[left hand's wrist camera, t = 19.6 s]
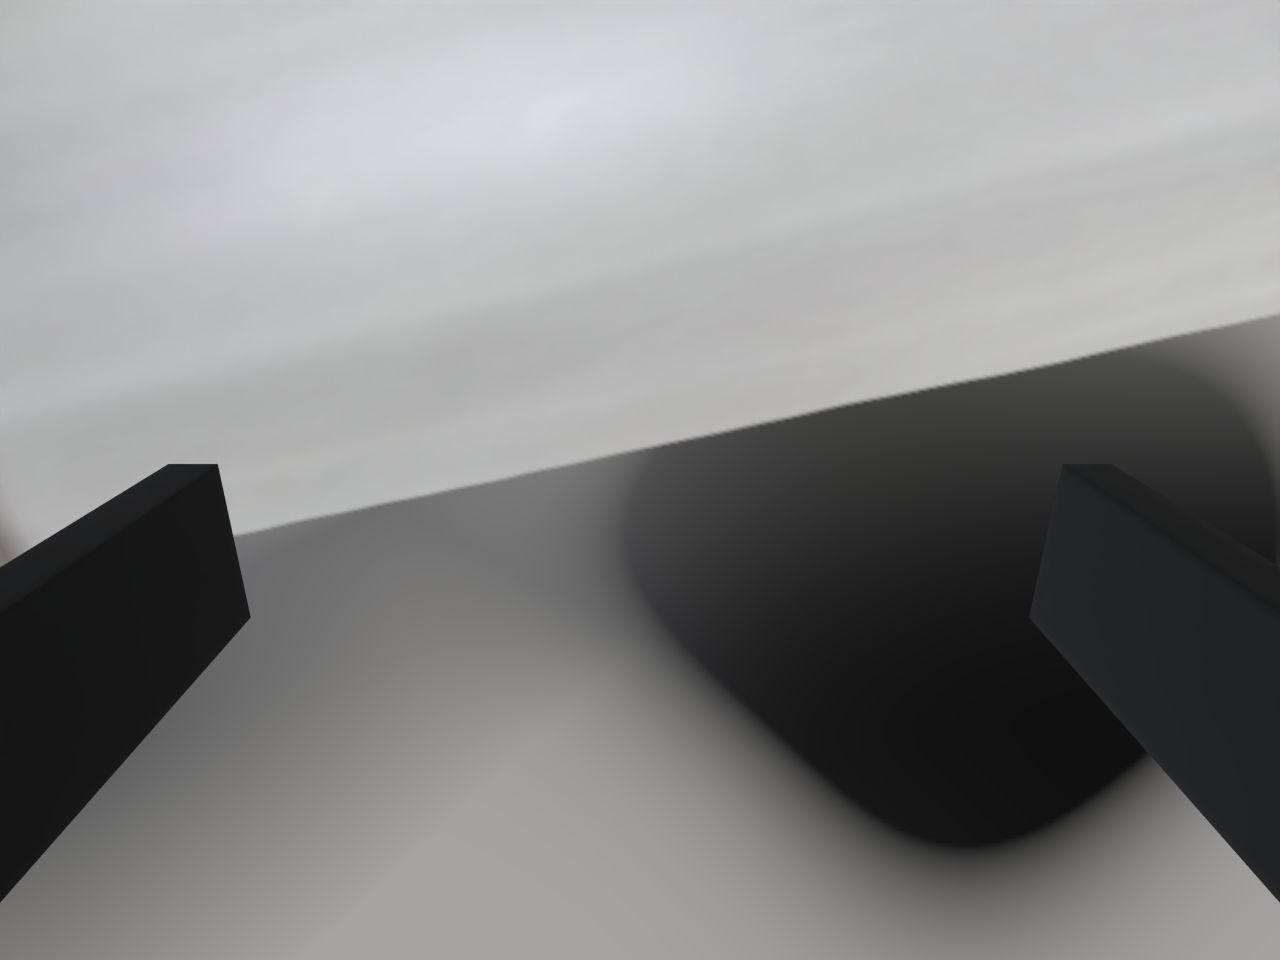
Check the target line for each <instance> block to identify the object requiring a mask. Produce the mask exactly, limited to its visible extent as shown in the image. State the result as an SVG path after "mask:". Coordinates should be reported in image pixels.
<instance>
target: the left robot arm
mask: <svg viewBox="0 0 1280 960" xmlns="http://www.w3.org/2000/svg"><path fill="white" fill-rule="evenodd" d="M249 619H250V612H249V608H248V603H247V598H246V594H245V589H244V584H243V580H242V575H241V571H240V566H239V561H238V556H237V552H236V547H235V543H234V538H233V533H232V529H231V524H230V519H229V515H228V510H227V505H226V501H225V496H224V491H223V487H222V482H221V477H220V473H219V468H218V464H168V465H166V466H165V467H163V468H161V469H160V470H158V471H156V472H155V473H153V474H152V475H150V476H148V477H147V478H145V479H143V480H142V481H140V482H139V483H137V484H135V485H134V486H132V487H130V488H129V489H127V490H125V491H124V492H122V493H121V494H119V495H117V496H116V497H114V498H112V499H111V500H109V501H108V502H106V503H104V504H103V505H101V506H99V507H98V508H96V509H95V510H93V511H91V512H90V513H88V514H86V515H85V516H83V517H82V518H80V519H78V520H77V521H75V522H73V523H72V524H70V525H69V526H67V527H65V528H64V529H62V530H60V531H59V532H57V533H56V534H54V535H52V536H51V537H49V538H47V539H46V540H44V541H42V542H41V543H39V544H38V545H36V546H34V547H33V548H31V549H29V550H28V551H26V552H25V553H23V554H21V555H20V556H18V557H16V558H15V559H13V560H12V561H10V562H8V563H7V564H5V565H3V566H2V567H0V902H1V901H2V900H3V899H4V898H5V896H6V895H7V894H8V893H9V892H10V891H11V890H12V888H13V887H14V886H15V885H16V884H17V883H18V882H19V881H20V879H21V878H22V877H23V876H24V875H25V874H26V873H27V871H28V870H29V869H30V868H31V867H32V866H33V865H34V863H35V862H36V861H37V860H38V859H39V858H40V857H41V855H42V854H43V853H44V852H45V851H46V850H47V849H48V847H49V846H50V845H51V844H52V843H53V842H54V841H55V839H56V838H57V837H58V836H59V835H60V834H61V833H62V832H63V830H64V829H65V828H66V827H67V826H68V825H69V824H70V822H71V821H72V820H73V819H74V818H75V817H76V816H77V815H78V813H79V812H80V811H81V810H82V809H83V808H84V807H85V805H86V804H87V803H88V802H89V801H90V800H91V799H92V797H93V796H94V795H95V794H96V793H97V792H98V791H99V789H100V788H101V787H102V786H103V785H104V784H105V783H106V781H107V780H108V779H109V778H110V777H111V776H112V775H113V774H114V772H115V771H116V770H117V769H118V768H119V767H120V766H121V764H122V763H123V762H124V761H125V760H126V759H127V758H128V756H129V755H130V754H131V753H132V752H133V751H134V750H135V748H136V747H137V746H138V745H139V744H140V743H141V742H142V741H143V739H144V738H145V737H146V736H147V735H148V734H149V733H150V731H151V730H152V729H153V728H154V727H155V726H156V724H157V723H158V722H159V721H160V720H161V719H162V718H163V717H164V715H165V714H166V713H167V712H168V711H169V710H170V709H171V707H172V706H173V705H174V704H175V703H176V702H177V701H178V700H179V698H180V697H181V696H182V695H183V694H184V693H185V692H186V690H187V689H188V688H189V687H190V686H191V685H192V684H193V682H194V681H195V680H196V679H197V678H198V677H199V676H200V675H201V673H202V672H203V671H204V670H205V669H206V668H207V667H208V665H209V664H210V663H211V662H212V661H213V660H214V659H215V657H216V656H217V655H218V654H219V653H220V652H221V651H222V649H223V648H224V647H225V646H226V645H227V644H228V643H229V641H230V640H231V639H232V638H233V637H234V636H235V635H236V634H237V632H238V631H239V630H240V629H241V628H242V627H243V626H244V624H245V623H246V622H247V621H248V620H249ZM1030 619H1031V620H1032V621H1033V622H1034V623H1035V624H1036V626H1037V627H1038V628H1039V629H1040V630H1041V631H1042V632H1043V634H1044V635H1045V636H1046V637H1047V638H1048V639H1049V640H1050V642H1051V643H1052V644H1053V645H1054V646H1055V647H1056V648H1057V649H1058V651H1059V652H1060V653H1061V654H1062V655H1063V656H1064V657H1065V659H1066V660H1067V661H1068V662H1069V663H1070V664H1071V665H1072V667H1073V668H1074V669H1075V670H1076V671H1077V672H1078V673H1079V674H1080V676H1081V677H1082V678H1083V679H1084V680H1085V681H1086V682H1087V684H1088V685H1089V686H1090V687H1091V688H1092V689H1093V690H1094V692H1095V693H1096V694H1097V695H1098V696H1099V697H1100V698H1101V699H1102V701H1103V702H1104V703H1105V704H1106V705H1107V706H1108V708H1109V709H1110V710H1111V711H1112V712H1113V713H1114V714H1115V715H1116V717H1117V718H1118V719H1119V720H1120V721H1121V722H1122V723H1123V725H1124V726H1125V727H1126V728H1127V729H1128V730H1129V731H1130V733H1131V734H1132V735H1133V736H1134V737H1135V738H1136V739H1137V740H1138V742H1139V743H1140V744H1141V745H1142V746H1143V747H1144V748H1145V750H1146V751H1147V752H1148V753H1149V754H1150V755H1151V756H1152V758H1153V759H1154V760H1155V761H1156V762H1157V763H1158V764H1159V766H1160V767H1161V768H1162V769H1163V770H1164V771H1165V772H1166V773H1167V775H1168V776H1169V777H1170V778H1171V779H1172V780H1173V781H1174V783H1175V784H1176V785H1177V786H1178V787H1179V788H1180V789H1181V791H1182V792H1183V793H1184V794H1185V795H1186V796H1187V797H1188V799H1189V800H1190V801H1191V802H1192V803H1193V804H1194V805H1195V807H1196V808H1197V809H1198V810H1199V811H1200V812H1201V813H1202V814H1203V816H1204V817H1205V818H1206V819H1207V820H1208V821H1209V822H1210V824H1211V825H1212V826H1213V827H1214V828H1215V829H1216V830H1217V832H1218V833H1219V834H1220V835H1221V836H1222V837H1223V838H1224V839H1225V841H1226V842H1227V843H1228V844H1229V845H1230V846H1231V848H1232V849H1233V850H1234V851H1235V852H1236V853H1237V854H1238V855H1239V857H1240V858H1241V859H1242V860H1243V861H1244V862H1245V863H1246V865H1247V866H1248V867H1249V868H1250V869H1251V870H1252V871H1253V873H1254V874H1255V875H1256V876H1257V877H1258V878H1259V879H1260V880H1261V882H1262V883H1263V884H1264V885H1265V886H1266V887H1267V888H1268V890H1269V891H1270V892H1271V893H1272V894H1273V895H1274V896H1275V898H1276V899H1277V900H1278V901H1279V902H1280V567H1278V566H1277V565H1275V564H1273V563H1272V562H1270V561H1268V560H1267V559H1265V558H1264V557H1262V556H1260V555H1259V554H1257V553H1255V552H1254V551H1252V550H1251V549H1249V548H1247V547H1246V546H1244V545H1242V544H1241V543H1239V542H1237V541H1236V540H1234V539H1233V538H1231V537H1229V536H1228V535H1226V534H1224V533H1223V532H1221V531H1220V530H1218V529H1216V528H1215V527H1213V526H1211V525H1210V524H1208V523H1207V522H1205V521H1203V520H1202V519H1200V518H1198V517H1197V516H1195V515H1194V514H1192V513H1190V512H1189V511H1187V510H1185V509H1184V508H1182V507H1180V506H1179V505H1177V504H1176V503H1174V502H1172V501H1171V500H1169V499H1168V498H1166V497H1164V496H1163V495H1161V494H1159V493H1158V492H1156V491H1154V490H1153V489H1151V488H1150V487H1148V486H1146V485H1145V484H1143V483H1141V482H1140V481H1138V480H1137V479H1135V478H1133V477H1132V476H1130V475H1128V474H1127V473H1125V472H1124V471H1122V470H1120V469H1119V468H1117V467H1115V466H1114V465H1112V464H1062V468H1061V473H1060V477H1059V482H1058V487H1057V491H1056V496H1055V501H1054V505H1053V510H1052V515H1051V519H1050V524H1049V529H1048V533H1047V538H1046V543H1045V547H1044V552H1043V556H1042V561H1041V566H1040V571H1039V575H1038V580H1037V584H1036V589H1035V594H1034V598H1033V603H1032V608H1031V612H1030Z"/></svg>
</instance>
